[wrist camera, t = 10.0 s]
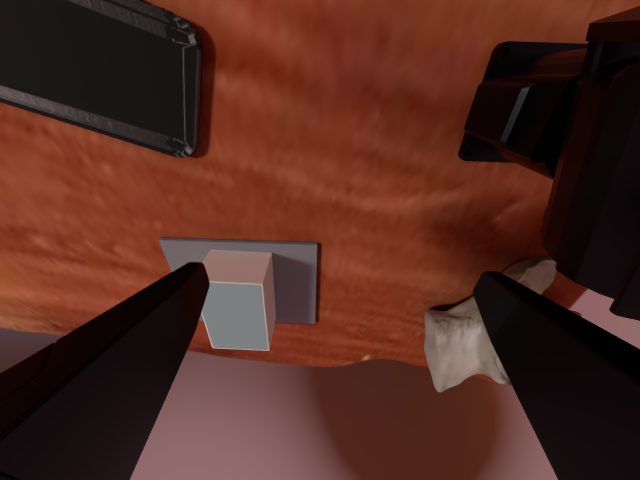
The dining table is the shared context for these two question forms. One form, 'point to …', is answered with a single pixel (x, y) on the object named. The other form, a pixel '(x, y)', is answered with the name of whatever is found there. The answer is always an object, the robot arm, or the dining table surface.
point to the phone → (105, 69)
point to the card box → (239, 299)
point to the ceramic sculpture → (475, 331)
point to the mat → (288, 270)
